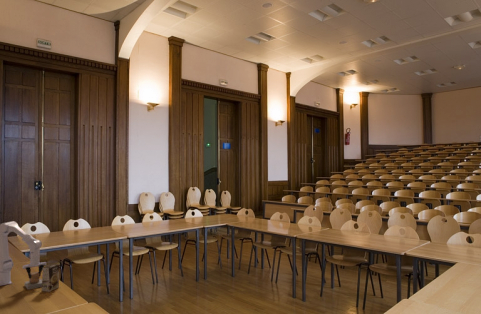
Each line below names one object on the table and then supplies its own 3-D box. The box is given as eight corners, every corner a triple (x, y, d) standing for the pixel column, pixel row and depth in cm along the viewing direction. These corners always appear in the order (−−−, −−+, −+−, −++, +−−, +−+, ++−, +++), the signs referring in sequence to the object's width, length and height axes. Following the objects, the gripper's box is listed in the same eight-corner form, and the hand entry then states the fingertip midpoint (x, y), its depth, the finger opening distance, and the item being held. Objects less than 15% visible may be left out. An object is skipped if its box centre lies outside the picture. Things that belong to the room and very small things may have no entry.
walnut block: (29, 281, 249) (29, 273, 249) (37, 280, 252) (37, 271, 252) (31, 283, 245) (31, 274, 245) (39, 282, 248) (39, 273, 248)
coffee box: (49, 292, 237) (50, 268, 238) (41, 291, 239) (42, 267, 239) (59, 287, 246) (59, 264, 247) (51, 286, 248) (51, 263, 248)
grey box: (24, 286, 249) (24, 282, 249) (40, 283, 255) (40, 278, 255) (27, 290, 241) (27, 285, 241) (44, 286, 248) (44, 282, 248)
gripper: (24, 260, 241) (23, 280, 241) (47, 257, 250) (47, 276, 250) (22, 258, 246) (21, 278, 246) (45, 255, 256) (44, 273, 255)
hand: (34, 277), depth 248 cm, fingers open, 5 cm apart
